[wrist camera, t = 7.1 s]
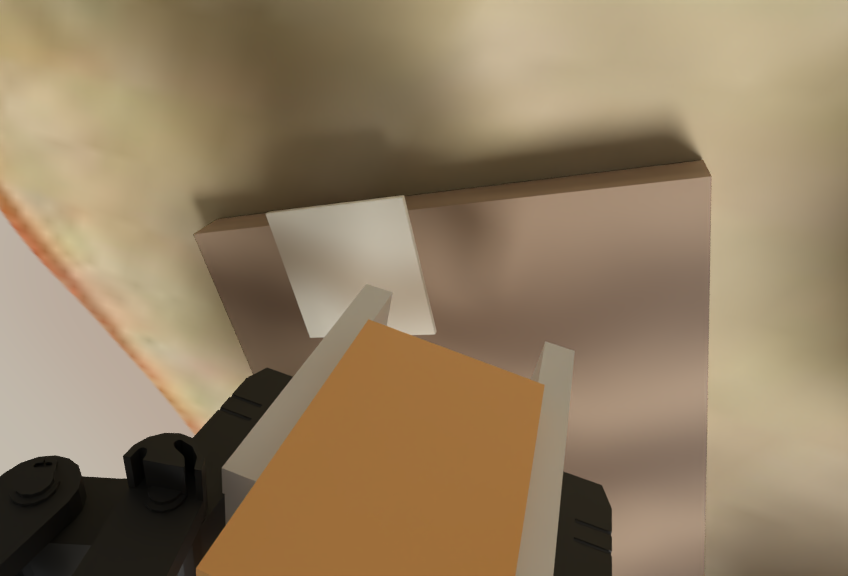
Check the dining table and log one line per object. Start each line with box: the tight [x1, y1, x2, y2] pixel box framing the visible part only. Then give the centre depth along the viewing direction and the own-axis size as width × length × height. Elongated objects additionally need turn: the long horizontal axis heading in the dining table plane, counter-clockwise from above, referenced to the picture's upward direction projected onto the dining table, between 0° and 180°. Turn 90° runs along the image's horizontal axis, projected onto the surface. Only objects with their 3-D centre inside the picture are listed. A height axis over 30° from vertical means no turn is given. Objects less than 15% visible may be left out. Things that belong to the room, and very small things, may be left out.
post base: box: [193, 160, 711, 576], centre depth 19 cm, size 20×17×8 cm
